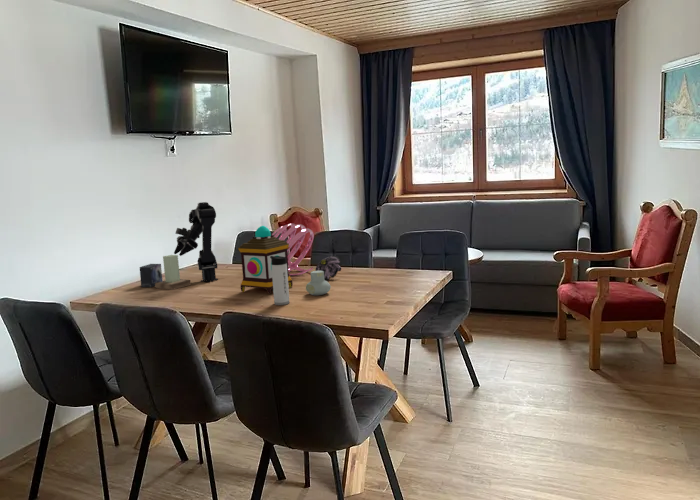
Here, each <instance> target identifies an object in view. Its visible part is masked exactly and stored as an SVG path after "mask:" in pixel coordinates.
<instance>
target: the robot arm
mask: <svg viewBox="0 0 700 500" xmlns="http://www.w3.org/2000/svg"><path fill="white" fill-rule="evenodd" d="M216 212H217V211H216V210H215V208H214V206H212V205H210V204H209V202H207V201H205V202H202V201H201V202H198V203H197V206H196V208H195V209H191V210H190V212H189V214H188V222H189V224H191V226H190V229H187V228H186V227H182V228H179V227H177V228H176V231H175V234H176V235H179V236H177V237H176V242H177V245H176V246H175V249H174V252H173V255H178V256H180V257H182V256H185V255H186V254H187V253H189V252H191V251H193V250H196V249H198V246H199V243H197V242H196V240H197V239H200V238H202V245H201V246H202V249H201V250H199V252H198V253H199V254H198V258H197V265H198V271H201V277H202V278H201V280H200V282H208V283H210V282H214V281H217V280H219V278H217V277H216V269H218V262H217V259H216V256H215V255H214V252H213V250H212V233H213V232H212V227H213V225H214V224H215V222H216V218H217V213H216ZM201 235H202V237H200V236H201ZM178 253H179V254H178Z"/></svg>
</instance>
